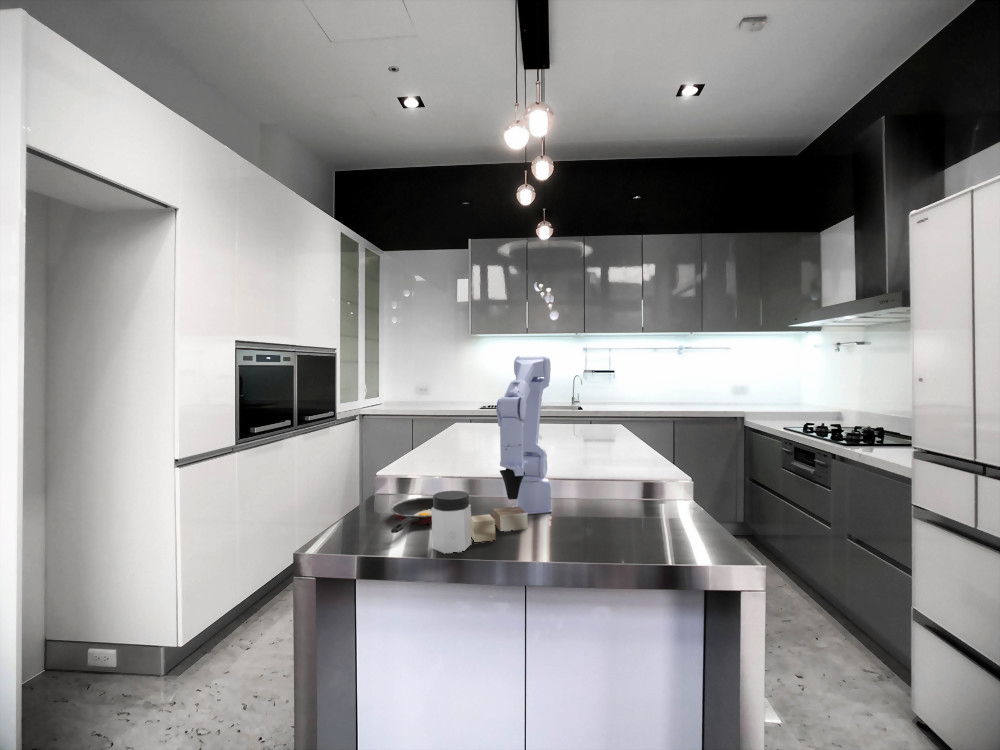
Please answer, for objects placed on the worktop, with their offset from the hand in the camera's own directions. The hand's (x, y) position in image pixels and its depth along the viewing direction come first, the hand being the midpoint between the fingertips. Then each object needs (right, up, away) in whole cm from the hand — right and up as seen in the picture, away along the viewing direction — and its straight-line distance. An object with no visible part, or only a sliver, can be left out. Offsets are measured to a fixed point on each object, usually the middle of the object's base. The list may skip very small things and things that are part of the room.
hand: (512, 498), depth 133 cm
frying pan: (-25, -8, +6) cm, 27 cm away
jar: (-14, -8, -12) cm, 20 cm away
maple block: (-7, -8, -7) cm, 13 cm away
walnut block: (0, -6, -1) cm, 6 cm away
